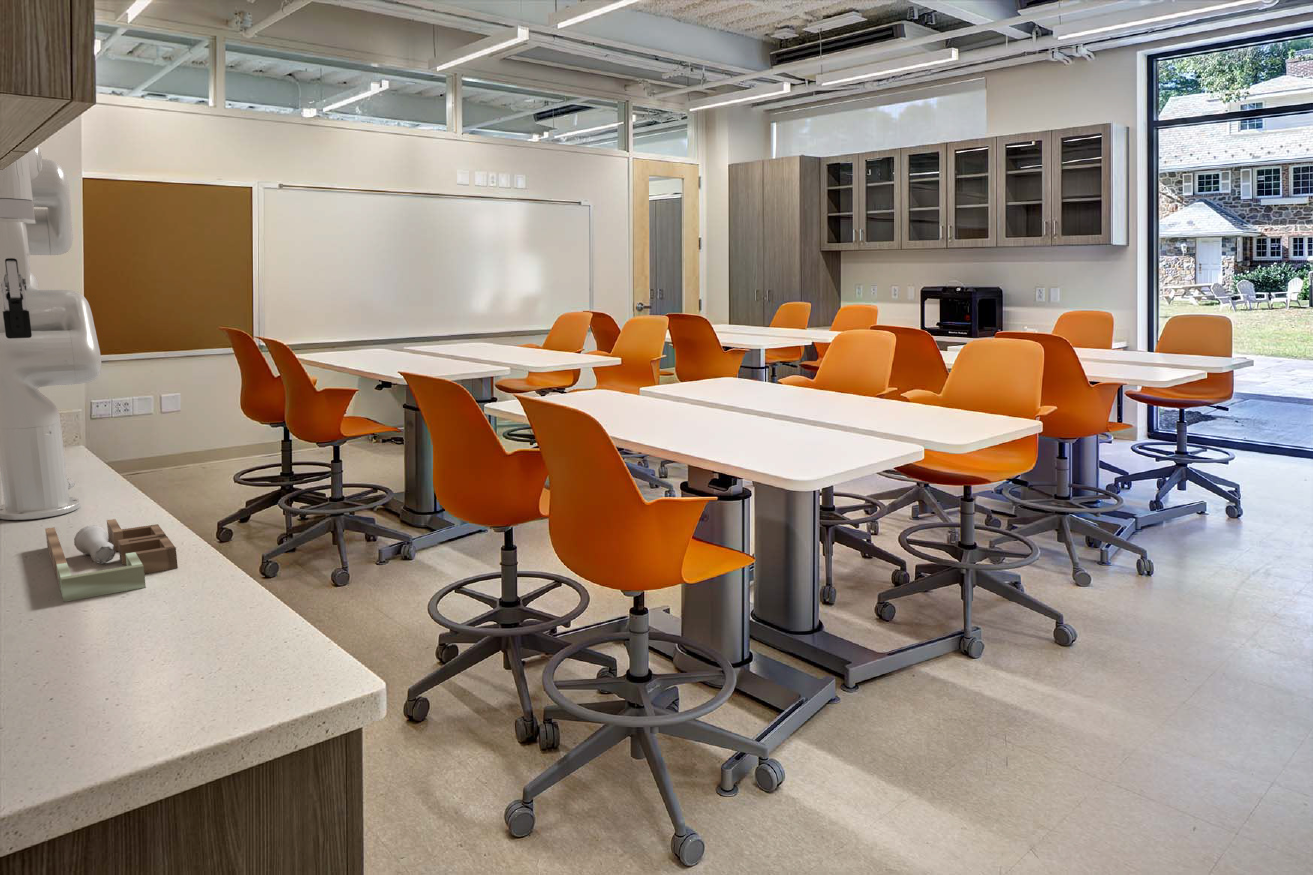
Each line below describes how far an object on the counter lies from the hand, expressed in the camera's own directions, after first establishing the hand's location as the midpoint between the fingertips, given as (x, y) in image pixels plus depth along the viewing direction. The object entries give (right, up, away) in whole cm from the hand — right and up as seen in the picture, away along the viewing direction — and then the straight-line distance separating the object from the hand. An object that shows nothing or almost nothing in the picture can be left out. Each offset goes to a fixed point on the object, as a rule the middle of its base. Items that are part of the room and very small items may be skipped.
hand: (19, 337), depth 140 cm
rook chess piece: (+11, -30, 0) cm, 32 cm away
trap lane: (+17, -33, -4) cm, 38 cm away
